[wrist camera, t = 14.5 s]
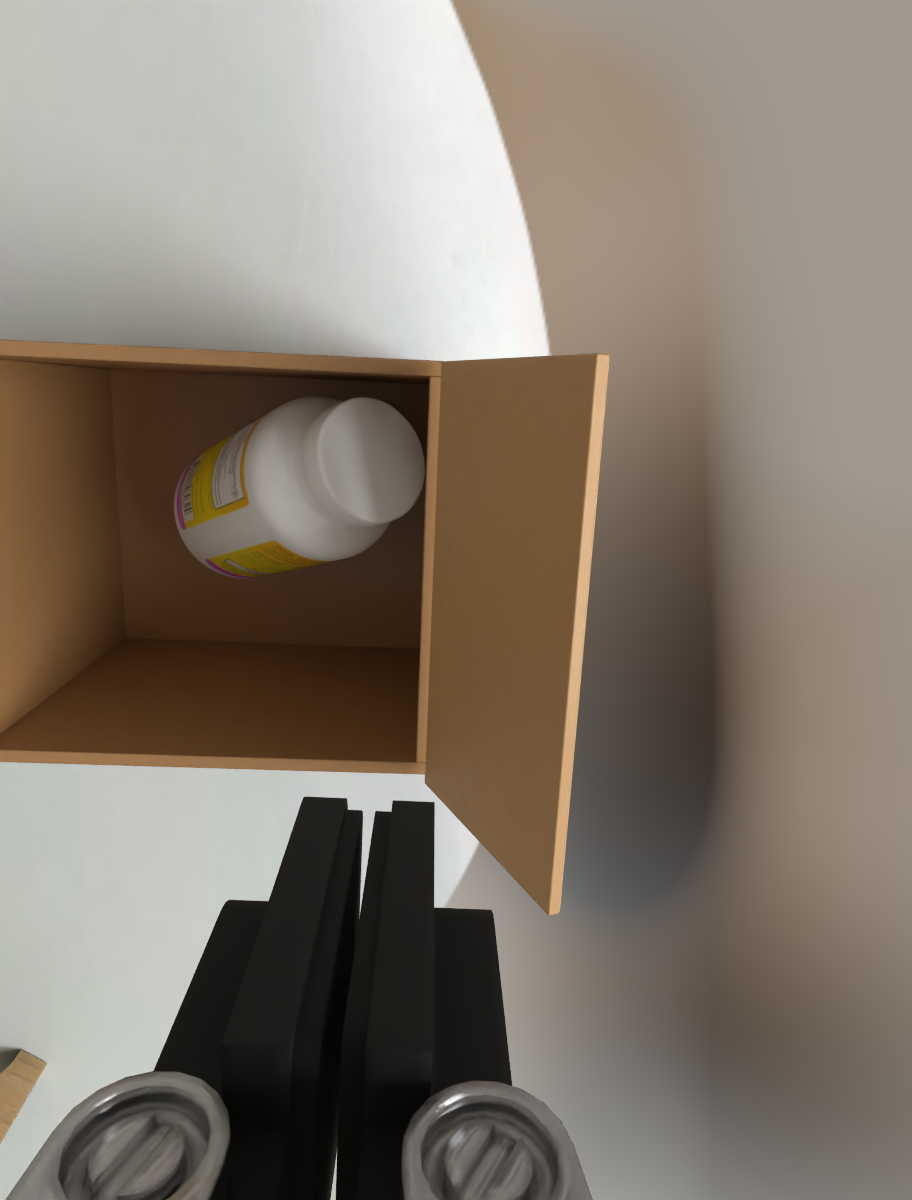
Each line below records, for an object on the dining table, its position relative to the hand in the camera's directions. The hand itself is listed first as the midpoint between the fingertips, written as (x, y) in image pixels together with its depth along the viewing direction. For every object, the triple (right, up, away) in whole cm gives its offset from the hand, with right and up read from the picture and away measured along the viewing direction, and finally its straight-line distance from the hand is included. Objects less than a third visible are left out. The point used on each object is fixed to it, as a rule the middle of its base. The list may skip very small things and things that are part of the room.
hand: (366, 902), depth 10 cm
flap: (+2, +3, +13) cm, 14 cm away
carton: (-8, +8, +31) cm, 34 cm away
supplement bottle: (-10, +8, +29) cm, 32 cm away
